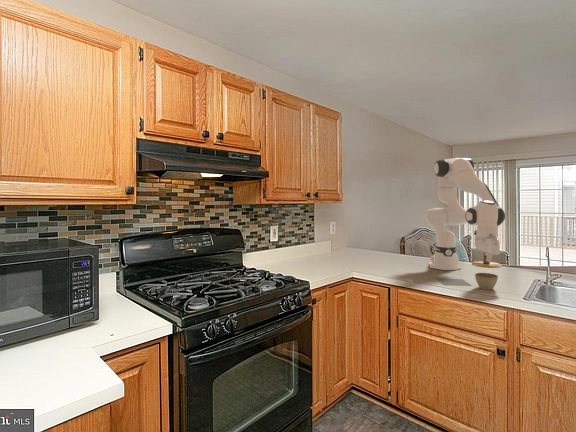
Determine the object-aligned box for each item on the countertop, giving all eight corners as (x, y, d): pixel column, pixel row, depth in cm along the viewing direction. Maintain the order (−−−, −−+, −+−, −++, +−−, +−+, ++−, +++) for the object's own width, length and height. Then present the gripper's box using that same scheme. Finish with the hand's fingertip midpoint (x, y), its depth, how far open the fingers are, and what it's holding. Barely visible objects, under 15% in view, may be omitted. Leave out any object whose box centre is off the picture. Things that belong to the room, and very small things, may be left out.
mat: (436, 279, 192) (436, 278, 192) (462, 279, 190) (462, 279, 190) (443, 285, 178) (443, 285, 178) (472, 286, 176) (472, 285, 176)
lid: (467, 262, 178) (467, 253, 178) (494, 263, 176) (494, 253, 176) (477, 267, 165) (477, 257, 165) (506, 268, 163) (507, 258, 163)
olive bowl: (476, 285, 178) (477, 271, 178) (499, 288, 172) (499, 274, 172) (472, 289, 171) (473, 275, 170) (495, 292, 164) (496, 278, 164)
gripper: (504, 235, 159) (503, 264, 160) (485, 231, 179) (484, 257, 180) (489, 235, 160) (488, 264, 161) (472, 231, 180) (472, 257, 181)
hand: (486, 260), depth 170 cm, fingers closed on lid, 3 cm apart
